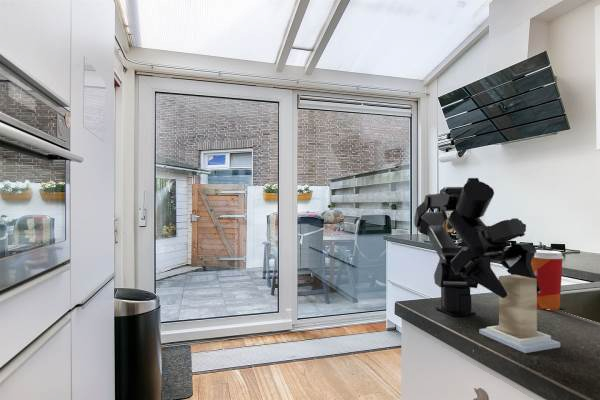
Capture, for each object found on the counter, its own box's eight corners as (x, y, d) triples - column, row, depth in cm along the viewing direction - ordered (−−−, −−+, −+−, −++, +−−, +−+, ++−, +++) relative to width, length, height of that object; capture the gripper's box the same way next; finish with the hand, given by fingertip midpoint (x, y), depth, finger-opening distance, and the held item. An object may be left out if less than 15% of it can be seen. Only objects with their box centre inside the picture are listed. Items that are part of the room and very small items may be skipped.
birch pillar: (499, 333, 68) (498, 276, 68) (514, 330, 70) (514, 274, 70) (521, 341, 64) (520, 280, 64) (537, 337, 66) (536, 278, 66)
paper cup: (529, 301, 93) (528, 248, 94) (565, 306, 89) (564, 251, 89) (525, 308, 87) (524, 251, 88) (563, 314, 83) (563, 254, 83)
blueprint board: (479, 333, 70) (479, 325, 70) (511, 328, 73) (511, 320, 73) (525, 353, 61) (524, 343, 61) (560, 347, 63) (560, 338, 63)
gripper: (461, 205, 68) (517, 273, 57) (526, 205, 75) (586, 265, 65) (432, 242, 75) (476, 308, 64) (493, 238, 82) (542, 297, 72)
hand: (522, 294), depth 66 cm, fingers open, 9 cm apart
